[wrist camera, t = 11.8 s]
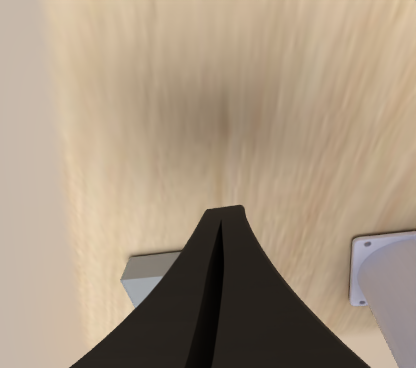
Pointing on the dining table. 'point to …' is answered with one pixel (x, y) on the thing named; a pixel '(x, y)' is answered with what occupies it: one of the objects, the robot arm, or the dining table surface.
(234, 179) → the dining table surface
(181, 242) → the dining table surface
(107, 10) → the dining table surface
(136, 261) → the socket block
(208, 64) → the dining table surface
